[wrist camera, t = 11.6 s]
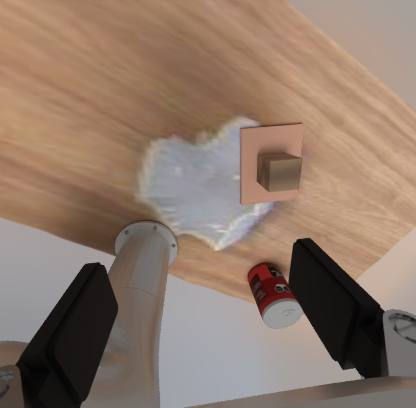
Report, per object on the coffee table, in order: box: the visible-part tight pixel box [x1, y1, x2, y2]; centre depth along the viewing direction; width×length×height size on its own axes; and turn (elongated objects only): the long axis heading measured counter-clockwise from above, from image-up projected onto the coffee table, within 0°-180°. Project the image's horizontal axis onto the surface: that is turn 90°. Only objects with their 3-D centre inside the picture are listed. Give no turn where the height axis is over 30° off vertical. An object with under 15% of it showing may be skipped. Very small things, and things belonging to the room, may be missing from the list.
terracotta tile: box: [240, 124, 304, 205], centre depth 37 cm, size 14×11×1 cm
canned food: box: [248, 263, 303, 329], centre depth 43 cm, size 8×8×11 cm
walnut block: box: [257, 152, 302, 192], centre depth 34 cm, size 5×5×6 cm
